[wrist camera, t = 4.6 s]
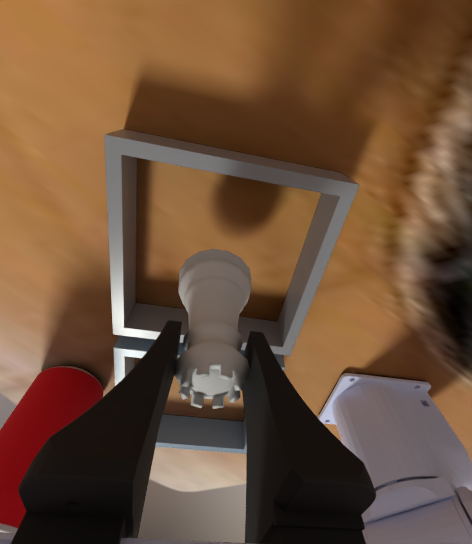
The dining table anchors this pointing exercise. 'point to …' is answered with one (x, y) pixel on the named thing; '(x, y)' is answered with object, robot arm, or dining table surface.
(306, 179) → the charcoal bin
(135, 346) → the slate bin
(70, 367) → the beverage can
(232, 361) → the rook chess piece
